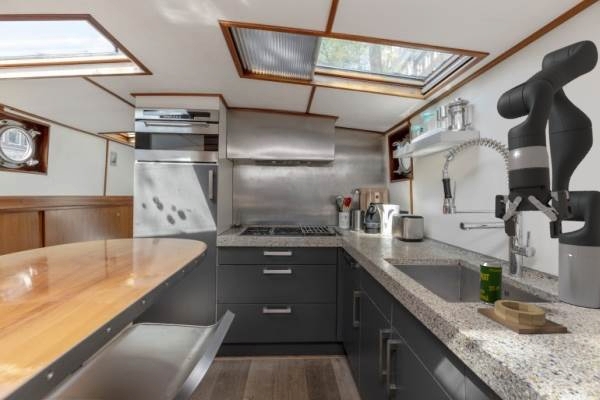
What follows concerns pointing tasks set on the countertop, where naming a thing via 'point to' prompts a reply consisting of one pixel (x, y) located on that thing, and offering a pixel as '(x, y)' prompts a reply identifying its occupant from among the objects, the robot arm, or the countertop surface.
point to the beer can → (490, 282)
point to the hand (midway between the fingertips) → (531, 237)
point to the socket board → (523, 327)
